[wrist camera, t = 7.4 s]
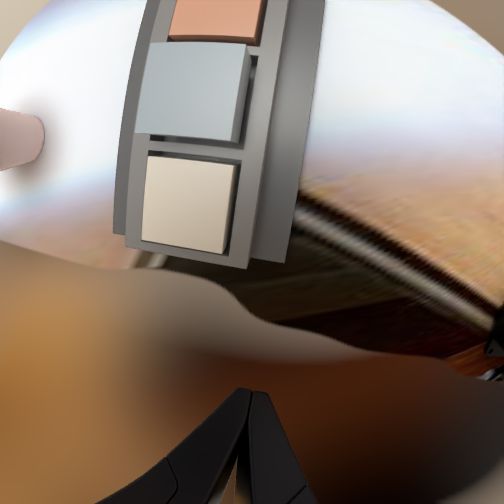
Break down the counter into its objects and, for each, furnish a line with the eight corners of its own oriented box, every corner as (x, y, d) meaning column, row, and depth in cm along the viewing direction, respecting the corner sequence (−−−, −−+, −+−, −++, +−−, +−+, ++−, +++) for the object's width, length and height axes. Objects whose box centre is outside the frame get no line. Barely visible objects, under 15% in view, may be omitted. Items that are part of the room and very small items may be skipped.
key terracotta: (268, -8, 14) (266, -28, 11) (258, 52, 15) (253, 37, 12) (197, -10, 14) (185, -29, 11) (183, 49, 15) (168, 35, 13)
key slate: (252, 60, 13) (246, 44, 11) (238, 143, 15) (230, 140, 12) (169, 57, 14) (150, 43, 11) (156, 135, 15) (134, 132, 13)
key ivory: (240, 164, 17) (233, 165, 14) (230, 241, 18) (221, 253, 16) (165, 155, 17) (148, 156, 15) (158, 229, 18) (141, 239, 16)
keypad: (324, -2, 14) (329, -25, 11) (284, 258, 19) (284, 275, 16) (157, -9, 15) (140, -28, 12) (120, 229, 20) (96, 241, 17)
